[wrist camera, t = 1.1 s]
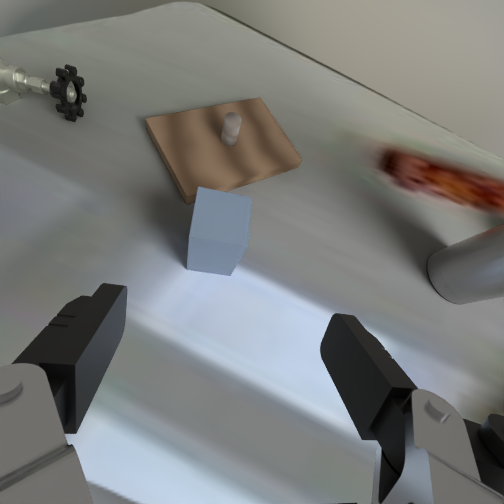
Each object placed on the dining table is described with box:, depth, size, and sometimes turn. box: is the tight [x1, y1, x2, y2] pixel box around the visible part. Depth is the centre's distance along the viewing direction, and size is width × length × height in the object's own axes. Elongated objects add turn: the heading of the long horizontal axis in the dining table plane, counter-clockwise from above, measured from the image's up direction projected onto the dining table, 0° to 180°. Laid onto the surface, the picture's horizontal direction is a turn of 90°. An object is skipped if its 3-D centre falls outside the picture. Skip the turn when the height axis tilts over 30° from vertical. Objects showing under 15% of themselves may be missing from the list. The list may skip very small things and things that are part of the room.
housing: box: [187, 187, 252, 276], centre depth 30 cm, size 6×6×10 cm
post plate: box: [145, 97, 302, 204], centre depth 39 cm, size 20×14×6 cm
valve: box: [0, 59, 87, 122], centre depth 34 cm, size 7×7×12 cm
